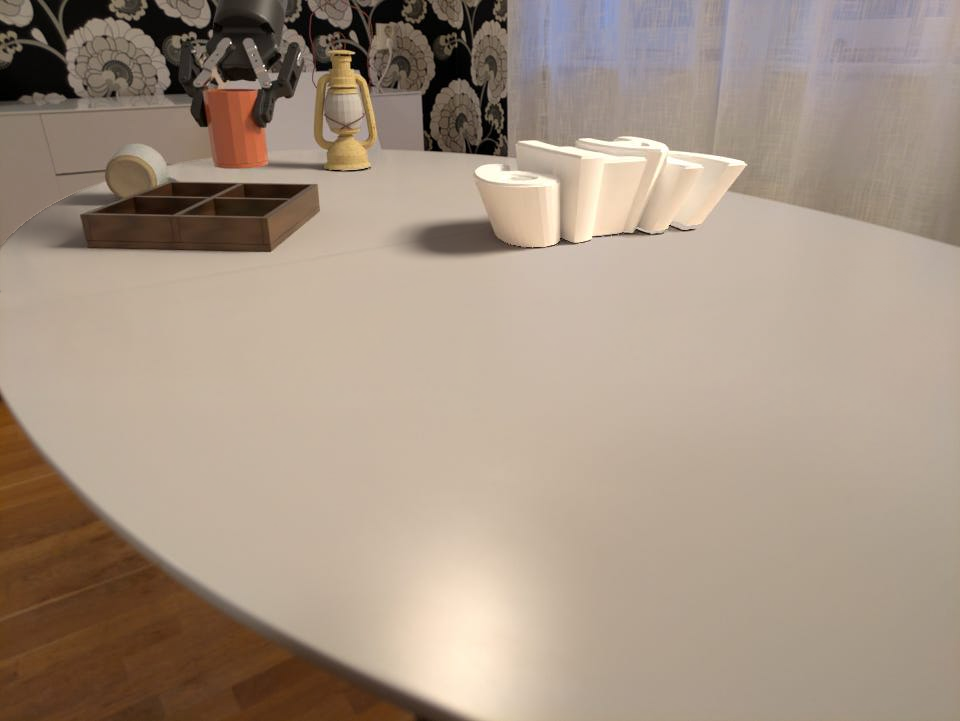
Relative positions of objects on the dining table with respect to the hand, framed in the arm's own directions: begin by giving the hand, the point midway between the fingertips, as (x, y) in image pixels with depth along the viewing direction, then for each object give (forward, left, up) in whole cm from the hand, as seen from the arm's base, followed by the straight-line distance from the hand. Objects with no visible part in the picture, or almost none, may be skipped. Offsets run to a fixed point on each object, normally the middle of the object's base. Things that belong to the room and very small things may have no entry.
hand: (229, 122), depth 74 cm
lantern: (-1, +57, -14) cm, 59 cm away
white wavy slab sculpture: (+42, +10, -14) cm, 46 cm away
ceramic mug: (-24, +24, -14) cm, 36 cm away
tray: (-7, +7, -14) cm, 17 cm away
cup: (0, +2, -5) cm, 5 cm away
